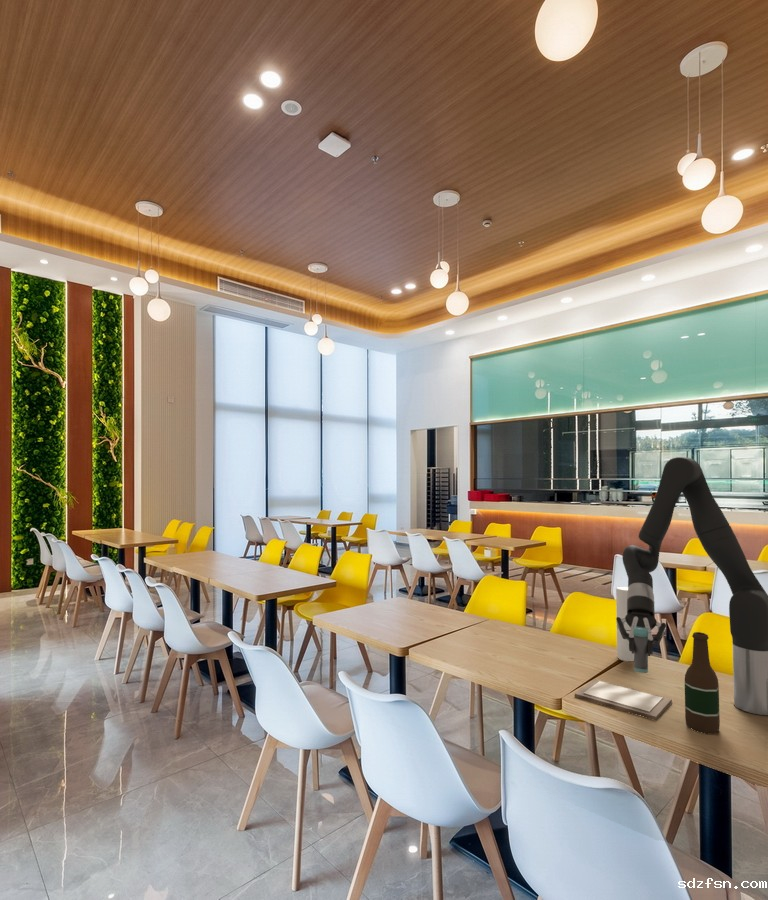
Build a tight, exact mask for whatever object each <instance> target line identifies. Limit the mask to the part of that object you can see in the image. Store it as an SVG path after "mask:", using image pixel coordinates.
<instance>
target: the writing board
mask: <svg viewBox="0 0 768 900" xmlns="http://www.w3.org/2000/svg"><path fill="white" fill-rule="evenodd" d="M574 698H577V699H580V700H584V701H587V702H590V703H593V704H597V703H598V704H597V705H601V704H602V705H601V706H604V705H605V707H607V706H608V708H611V707H612V709H614V710H618V711H621V710H622V711H621V712H625V711H626V713H628V712H630V713H629V714H632V713H633V714H632V715H635V714H637V715H636V716H638V715H641V716H640V717H642V716H644V717H643V718H645V717H647V718H646V719H649V718H650V719H649V720H652V719H653V721H657V720H658V719H659V718H660V717H661V716H662V715H663V713H664V712H665V711H666V710H667V709H668V708H669V707H670V706H671V704H672V703H673V699H672V698H670V697H665V696H660V695H658V694H654V693H649V692H646V691H642V690H639V689H634V688H630V687H628V686H627V687H626V686H623V685H619V684H615V683H611V682H607V681H604V680H599V679H596V678H594V679H593V680H592V681H590V682H588V683H587V684H586V685H585V686H583V687H582V688H580V689H579V690H578V691H576V692H575V693H574ZM660 715H661V716H660Z"/></svg>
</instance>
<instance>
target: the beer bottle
mask: <svg viewBox="0 0 768 900" xmlns="http://www.w3.org/2000/svg"><path fill="white" fill-rule="evenodd" d="M691 637H692V638H693V642H692V643H693V644H692V660H691V664H690V665H689V667H688V668H687V669H686V672H685V674H684V714H685V715H684V717H685V718H684V719H685V725H686V727H688V726H689V727H690V728H689V727H688V728H689V729H691V728H692V729H693V730H692V729H691V730H692V731H694V730H695V731H694V732H697V731H698V732H697V733H701V732H702V733H701V734H704V733H705V735H717V733H718V732H719V730H720V724H721V723H720V720H721V719H720V686H719V679H718V676H717V672H716V671H715V670H714V669H713V668H712V666H711V662H710V652H709V642H708V640H709V639H710V638H709V634H707V633H705V632H701V631H699V632H697V631H695V632H693V633H692V635H691Z"/></svg>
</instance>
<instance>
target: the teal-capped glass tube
mask: <svg viewBox="0 0 768 900" xmlns="http://www.w3.org/2000/svg"><path fill="white" fill-rule="evenodd" d="M633 670H634V671H635V672H637V673H641V674H646V673H648V672H649V656H648V629H647V628H645V627H634V662H633Z"/></svg>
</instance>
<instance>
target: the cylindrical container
mask: <svg viewBox="0 0 768 900" xmlns="http://www.w3.org/2000/svg"><path fill="white" fill-rule="evenodd" d="M615 591H616V592H615V593H616V594H615V595H616V596H615V597H616V603H615V604H616V605H615V606H616V608H615V609H616V618H617V617H619V618H625V616H626V615H627V592H628V586H617V587H616V588H615ZM624 628H625V630H626V632H627V633H628V634H630V630H631V628H630V626H629V625H628V624H627V623H626V622H625V626H624ZM616 657H618V658H619V659H618V658H617V659H618V660H621V661H624V662H628V661H634V654H632V651H629V641H628V640H627V639H623V638H622V635H621V633H620V630H619V628H618V626H617V625H616Z"/></svg>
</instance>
